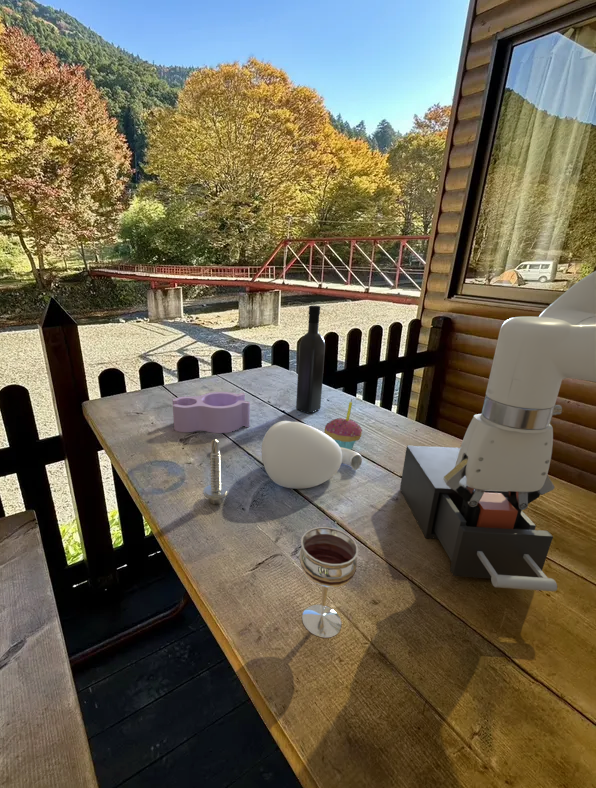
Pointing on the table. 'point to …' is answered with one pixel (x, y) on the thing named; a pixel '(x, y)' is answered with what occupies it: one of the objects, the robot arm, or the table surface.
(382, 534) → the table surface
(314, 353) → the wine bottle
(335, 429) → the cupcake
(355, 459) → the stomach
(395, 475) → the table surface
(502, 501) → the block
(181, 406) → the clip
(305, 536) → the wineglass
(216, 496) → the screw
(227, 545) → the table surface
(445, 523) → the drawer
